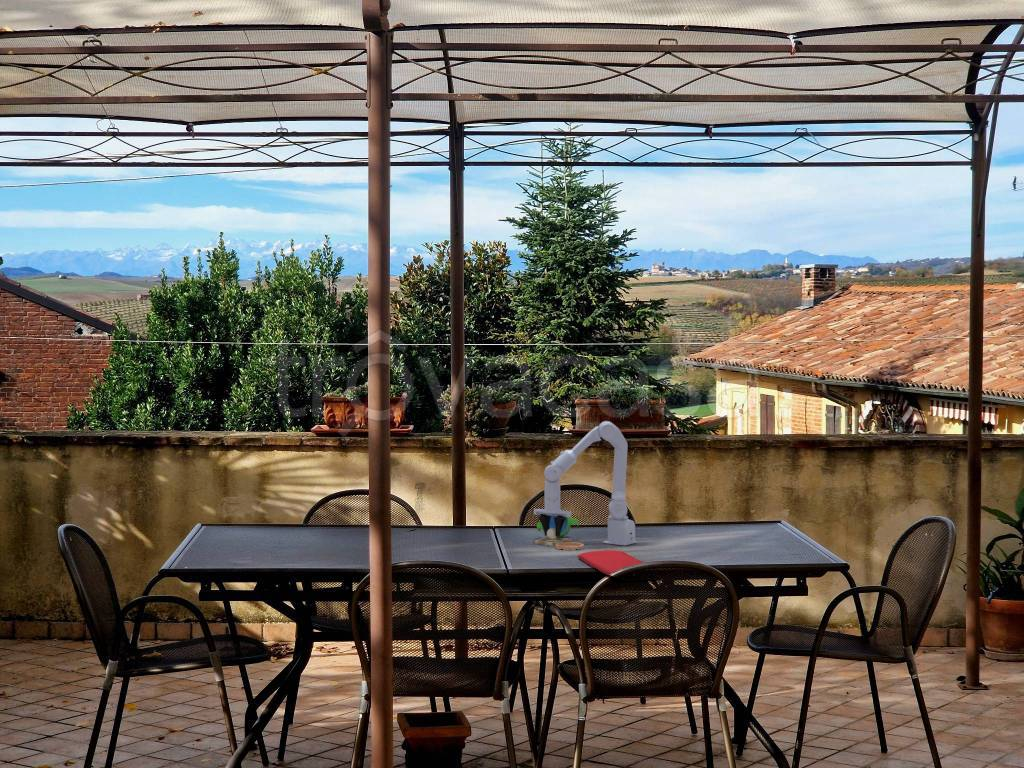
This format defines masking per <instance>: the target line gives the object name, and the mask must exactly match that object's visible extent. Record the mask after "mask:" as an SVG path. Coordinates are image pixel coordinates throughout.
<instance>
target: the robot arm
mask: <svg viewBox="0 0 1024 768" xmlns="http://www.w3.org/2000/svg"><path fill="white" fill-rule="evenodd" d="M601 438H602V439H603V440H604V441H607V442H608V443H610V445H611V446H612V447H613V448H614V452H613V453H614V457H613V471H612V472H613V473H612V489H611V490H612V492H611V498H610V501H609V502H608V503H609V504H608V508H607V509H608V512H609V516H607V540H605V541H602V543H603V544H610V545H617V546H618V545H620V546H627V545H628V546H629V545H632V544H636V543H637V541H636V523H635V521H634V520H632V519H629V516H628V507H627V504H626V483H627V482H626V481H627V467H628V466H627V464H628V463H627V462H628V448H629V447H628V441H627V440H626V438H625V437H624V435H623V433H622V431H621V430H620V428H619V427H618V426H616V425H615V424H614V423H613V422H611V421H608V420H604V421H602V422H601V423H600V424H599V425H598V426H595V427H594V428H592V429H591V430H590V431H588V433H587V434H585V436H584V437H582V438H581V440H579V441H578V442H577V444H576V445H574V447H572V448H571V449H565V450H564V451H563V450H561V452H559V456H558V457H557V458H555V459H554V460H551V461H550V465H548V466H546V467H545V469H544V471H543V474H544V477H545V479H544V484H545V485H544V508H534V509H533V515H535V516H537V515H539V516H538V520H539V522H541V524H542V526H543V529H542V531H543V530H544V531H543V533H544V536H547V531H548V530H549V529H550V527H549V526H550V518H551V516H557V517H554V521H555V528H556V529H555V534H556V537H558V536H560V534H561V530H562V527H563V524H564V522H565V520H566V517H570V518H572V510H571V511H568V510H564V509H562V510H560V509H561V485H560V479H561V476H562V474H565V473H567V471H568V470H569V469H570V468H572V467H573V466H574V464H575V463H576V462H578V460H577V457H578V456H579V455H580V454H581V453H583V452H584V451H585V450H586V449H587V448H588V447H590V446H591V444H593V443H595V442H596V443H597V442H600V441H602V439H601ZM556 514H557V515H556ZM547 537H548V536H547Z"/></svg>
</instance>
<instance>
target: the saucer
mask: <svg viewBox="0 0 1024 768" xmlns="http://www.w3.org/2000/svg"><path fill="white" fill-rule="evenodd" d="M555 548H556V550H559V549H563V550H562V551H575V550H574V549H581V550H583V549H582V548H584V549H585V544H584V543H581V542H574V541H573V542H562V543H557V544H555V546H554V549H555Z"/></svg>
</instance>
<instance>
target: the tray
mask: <svg viewBox="0 0 1024 768" xmlns="http://www.w3.org/2000/svg"><path fill="white" fill-rule="evenodd" d="M562 542H572V538H566V537H556V538H555V539H550V538H548V537H544V538H540V539H539V538H538V539H535V540H533V545H539V544H541V545H542V546H547V545H549V546H548V547H555V544H557V543H562ZM541 545H540V546H541Z"/></svg>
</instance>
